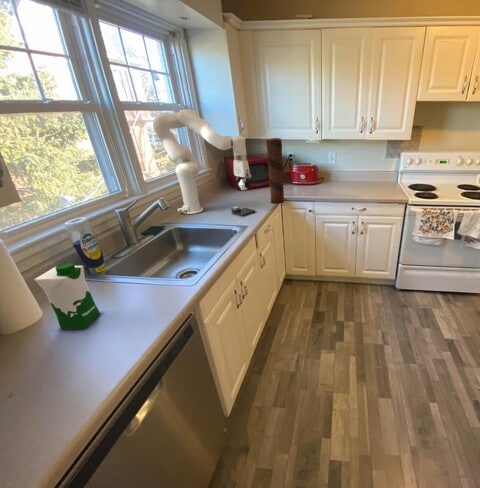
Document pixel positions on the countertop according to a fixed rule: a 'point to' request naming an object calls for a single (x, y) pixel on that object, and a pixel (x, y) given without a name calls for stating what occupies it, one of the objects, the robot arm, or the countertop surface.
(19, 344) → the countertop surface
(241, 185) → the white rounded lump
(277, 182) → the wafer roll
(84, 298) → the milk carton
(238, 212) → the scale
